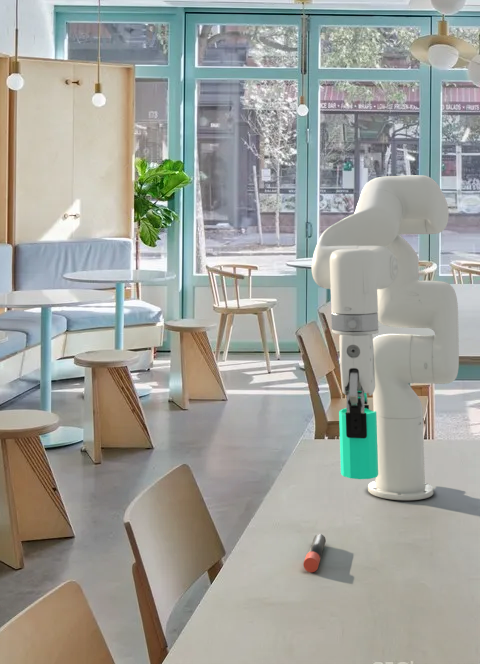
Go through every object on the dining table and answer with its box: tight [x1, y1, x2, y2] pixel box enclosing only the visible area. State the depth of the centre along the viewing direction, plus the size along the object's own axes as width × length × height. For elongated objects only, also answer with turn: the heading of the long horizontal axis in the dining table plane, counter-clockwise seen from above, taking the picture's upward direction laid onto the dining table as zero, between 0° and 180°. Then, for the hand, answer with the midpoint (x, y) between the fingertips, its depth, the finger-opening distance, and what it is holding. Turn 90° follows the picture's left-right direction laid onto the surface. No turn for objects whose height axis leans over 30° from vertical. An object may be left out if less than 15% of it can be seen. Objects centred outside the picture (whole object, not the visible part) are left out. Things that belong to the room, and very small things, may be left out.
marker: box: [302, 533, 327, 573], centre depth 168 cm, size 14×2×2 cm, turn 162°
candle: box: [338, 407, 378, 480], centre depth 168 cm, size 6×6×12 cm
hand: (358, 432), depth 168 cm, fingers closed on candle, 6 cm apart
